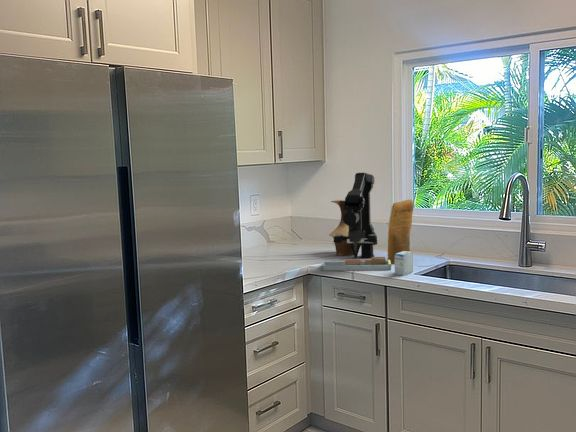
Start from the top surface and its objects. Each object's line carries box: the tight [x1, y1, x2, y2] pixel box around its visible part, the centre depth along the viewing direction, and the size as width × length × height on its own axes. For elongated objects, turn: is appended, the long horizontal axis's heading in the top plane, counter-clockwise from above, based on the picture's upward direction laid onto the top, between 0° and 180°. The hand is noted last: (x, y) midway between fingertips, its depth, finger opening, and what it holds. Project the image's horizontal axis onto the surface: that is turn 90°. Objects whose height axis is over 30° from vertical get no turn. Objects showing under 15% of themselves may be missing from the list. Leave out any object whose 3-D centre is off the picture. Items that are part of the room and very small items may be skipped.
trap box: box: [320, 258, 392, 271], centre depth 255 cm, size 14×30×2 cm, turn 82°
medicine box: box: [394, 251, 414, 276], centre depth 239 cm, size 8×4×9 cm, turn 141°
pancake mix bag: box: [387, 199, 414, 265], centre depth 262 cm, size 7×19×28 cm, turn 132°
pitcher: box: [328, 199, 357, 257], centre depth 286 cm, size 18×17×28 cm
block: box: [370, 256, 386, 265], centre depth 252 cm, size 5×6×4 cm
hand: (355, 257), depth 253 cm, fingers closed
